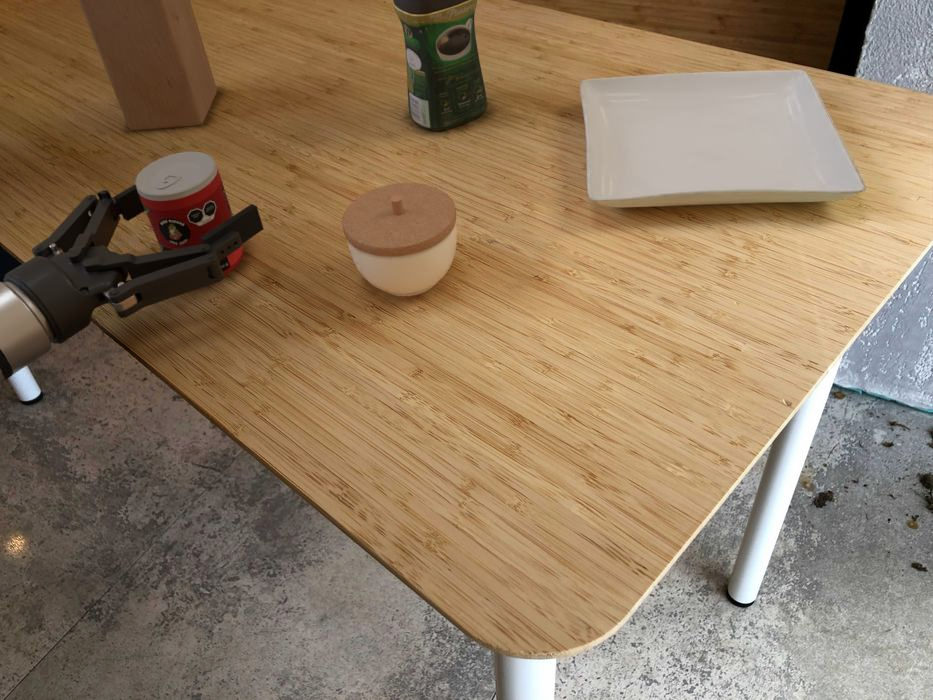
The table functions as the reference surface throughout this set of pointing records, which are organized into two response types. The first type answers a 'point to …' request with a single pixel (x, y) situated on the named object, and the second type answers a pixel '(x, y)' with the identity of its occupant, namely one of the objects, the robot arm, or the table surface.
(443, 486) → the table surface
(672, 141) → the square plate
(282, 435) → the table surface
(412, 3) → the coffee jar
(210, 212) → the canned food
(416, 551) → the table surface
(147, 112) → the wooden block
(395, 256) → the trinket box
